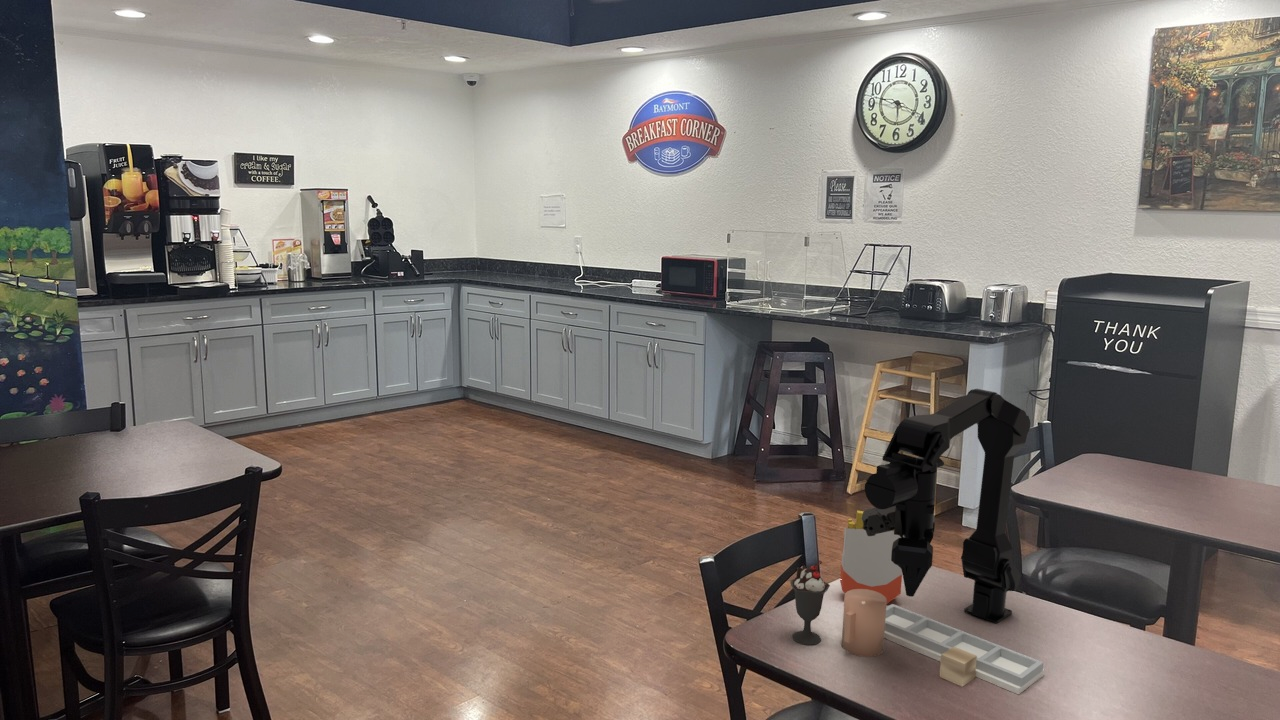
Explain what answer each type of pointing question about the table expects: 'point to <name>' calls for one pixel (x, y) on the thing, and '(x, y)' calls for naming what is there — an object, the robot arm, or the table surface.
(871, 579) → the french fries container
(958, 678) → the beech block
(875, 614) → the terracotta mug
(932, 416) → the robot arm
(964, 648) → the board
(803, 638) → the sundae
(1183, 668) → the table surface
